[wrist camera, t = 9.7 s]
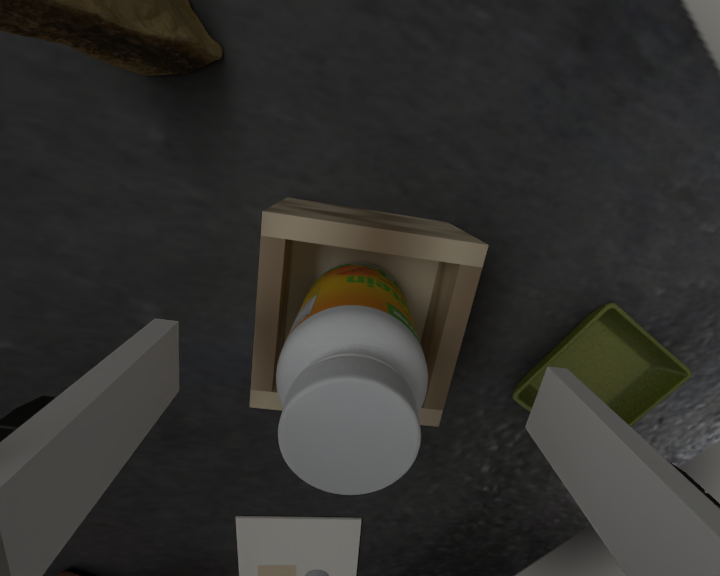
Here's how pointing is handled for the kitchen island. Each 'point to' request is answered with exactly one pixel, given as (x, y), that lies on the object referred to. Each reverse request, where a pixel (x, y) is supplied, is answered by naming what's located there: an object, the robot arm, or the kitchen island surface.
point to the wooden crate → (373, 246)
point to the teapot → (67, 574)
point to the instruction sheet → (297, 546)
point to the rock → (119, 31)
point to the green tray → (611, 364)
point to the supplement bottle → (351, 383)
